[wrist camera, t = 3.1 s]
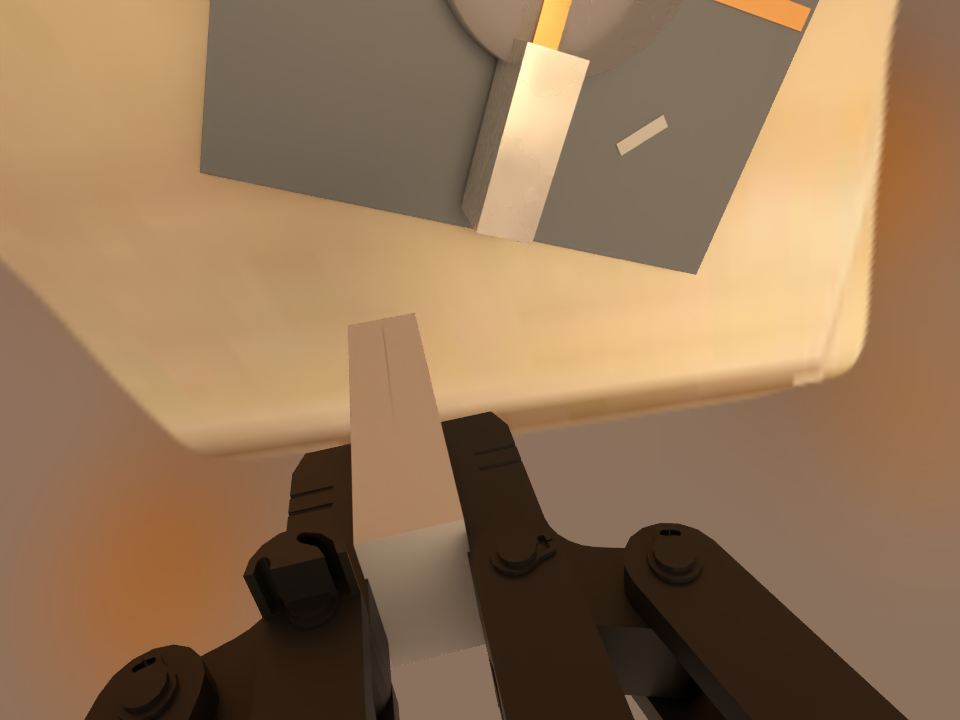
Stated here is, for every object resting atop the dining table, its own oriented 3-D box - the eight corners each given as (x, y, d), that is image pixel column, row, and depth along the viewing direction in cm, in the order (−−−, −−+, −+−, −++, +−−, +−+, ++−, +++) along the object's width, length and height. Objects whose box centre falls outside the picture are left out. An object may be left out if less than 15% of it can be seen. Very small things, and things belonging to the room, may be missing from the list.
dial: (468, -306, 20) (495, -367, 17) (727, -184, 23) (795, -215, 20) (375, 186, 27) (380, 213, 24) (582, 231, 30) (614, 261, 27)
